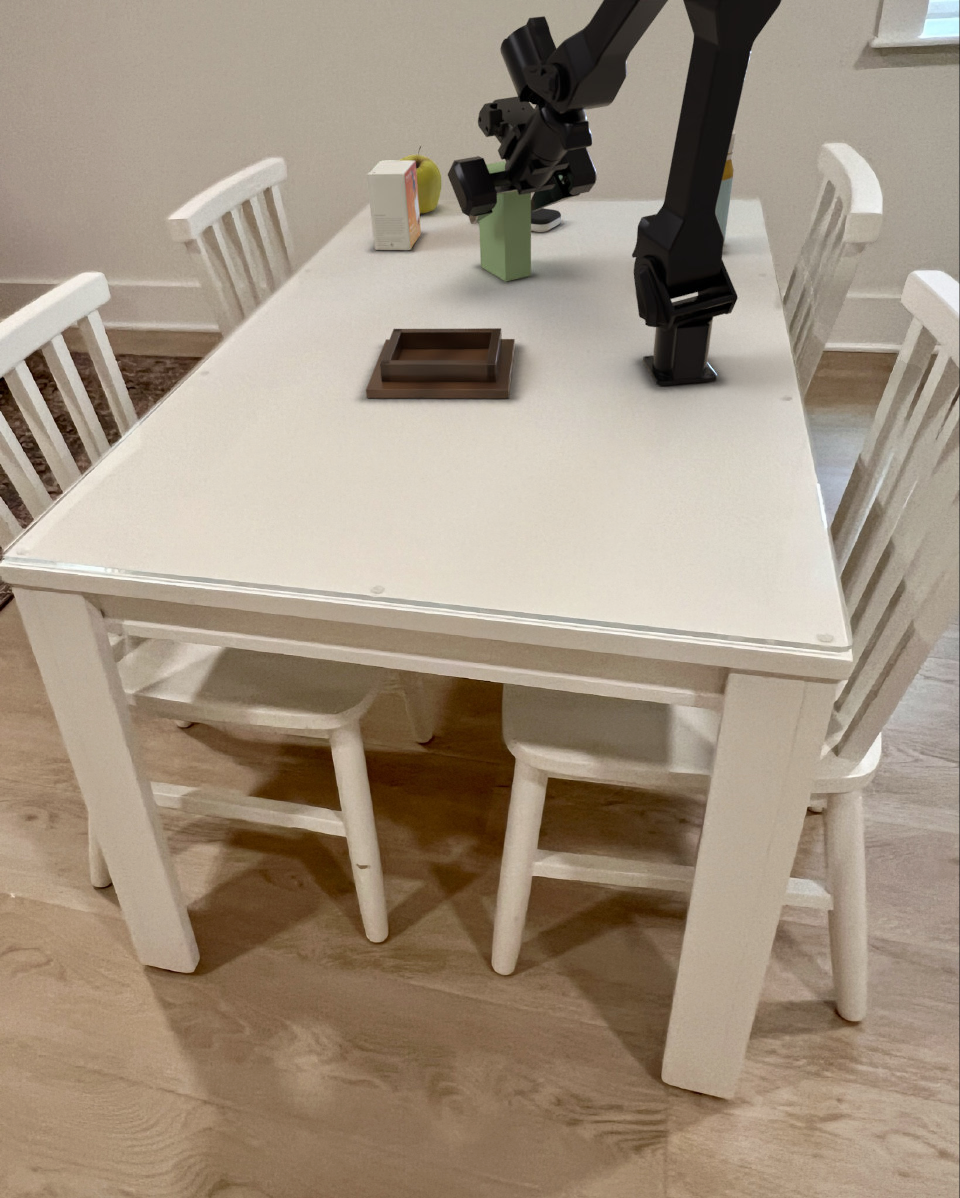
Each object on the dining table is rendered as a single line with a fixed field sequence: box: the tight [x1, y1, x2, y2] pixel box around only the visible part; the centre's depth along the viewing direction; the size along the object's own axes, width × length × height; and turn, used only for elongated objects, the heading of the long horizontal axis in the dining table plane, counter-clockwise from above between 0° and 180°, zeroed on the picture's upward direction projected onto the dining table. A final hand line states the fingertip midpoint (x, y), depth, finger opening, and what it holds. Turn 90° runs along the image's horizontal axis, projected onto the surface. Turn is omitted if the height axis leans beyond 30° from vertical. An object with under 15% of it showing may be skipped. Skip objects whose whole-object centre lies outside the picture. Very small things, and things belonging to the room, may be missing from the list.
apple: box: [399, 145, 442, 214], centre depth 142 cm, size 8×8×10 cm
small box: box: [365, 159, 422, 251], centre depth 130 cm, size 8×6×10 cm
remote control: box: [531, 208, 562, 233], centre depth 138 cm, size 6×13×2 cm, turn 58°
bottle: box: [715, 129, 736, 247], centre depth 121 cm, size 7×7×15 cm
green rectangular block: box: [478, 160, 532, 282], centre depth 118 cm, size 4×7×13 cm, turn 28°
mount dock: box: [365, 327, 516, 399], centre depth 97 cm, size 15×13×3 cm
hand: (501, 214), depth 118 cm, fingers open, 9 cm apart
